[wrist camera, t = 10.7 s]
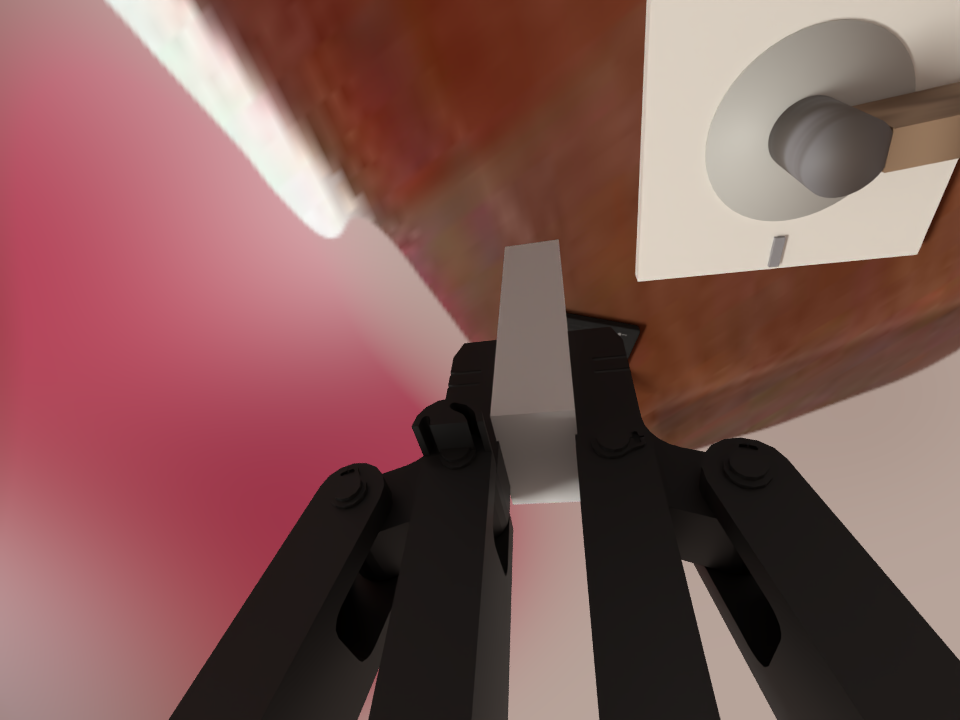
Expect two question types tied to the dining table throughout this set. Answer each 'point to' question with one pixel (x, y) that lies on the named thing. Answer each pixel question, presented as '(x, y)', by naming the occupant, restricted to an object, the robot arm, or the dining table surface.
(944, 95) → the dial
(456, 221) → the dining table surface
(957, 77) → the panel
